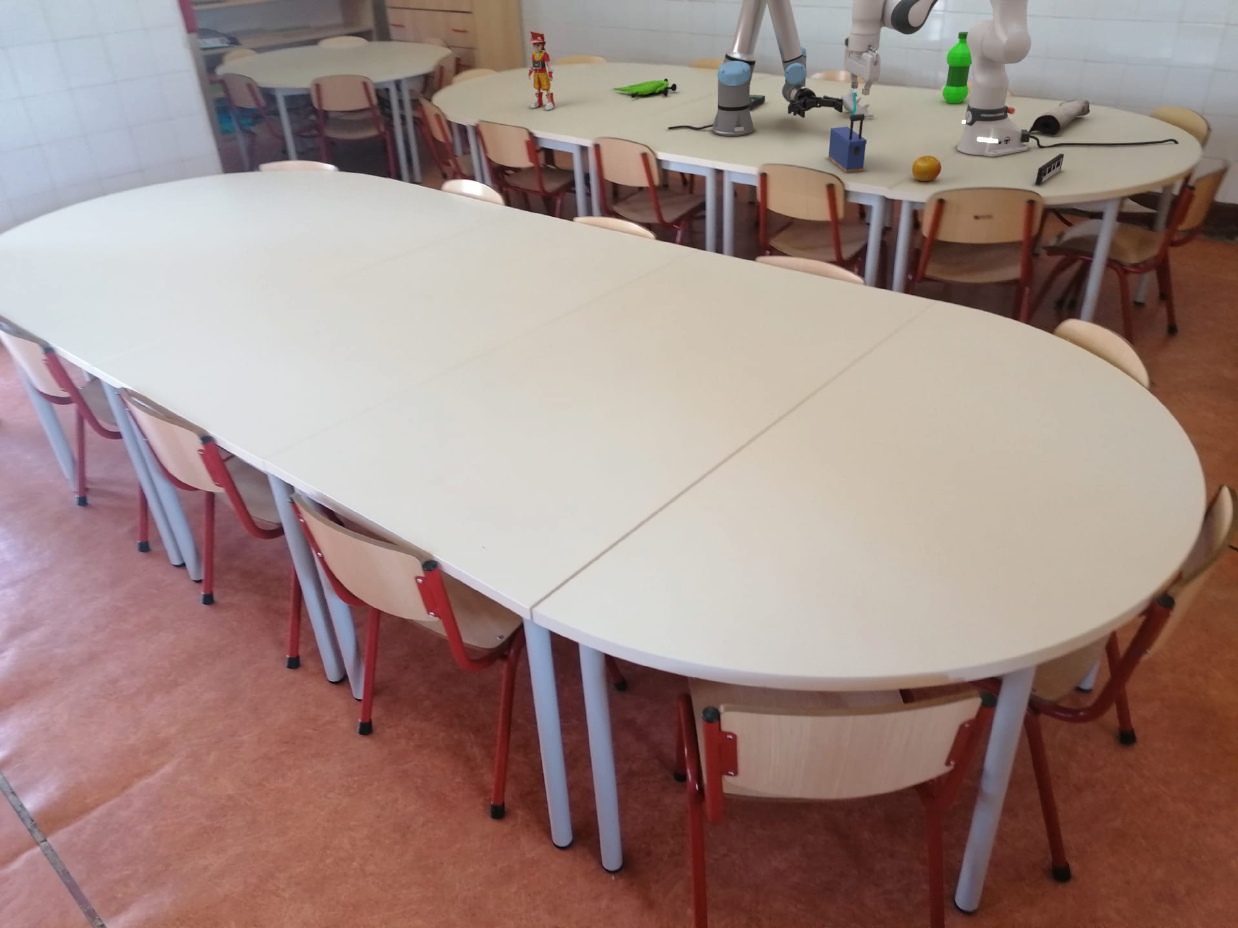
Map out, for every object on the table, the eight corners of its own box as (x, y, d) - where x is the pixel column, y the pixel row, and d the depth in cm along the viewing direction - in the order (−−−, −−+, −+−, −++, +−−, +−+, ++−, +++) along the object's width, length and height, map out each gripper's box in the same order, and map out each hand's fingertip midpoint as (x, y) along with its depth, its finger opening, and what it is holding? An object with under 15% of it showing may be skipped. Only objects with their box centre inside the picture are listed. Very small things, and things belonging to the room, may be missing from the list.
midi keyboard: (1039, 185, 269) (1043, 168, 266) (1035, 184, 270) (1038, 168, 267) (1060, 170, 279) (1064, 154, 277) (1056, 169, 280) (1060, 153, 277)
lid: (866, 144, 284) (869, 115, 279) (849, 145, 284) (852, 117, 279) (846, 130, 298) (849, 103, 294) (830, 131, 298) (832, 104, 293)
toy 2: (686, 85, 398) (631, 84, 414) (685, 72, 395) (629, 72, 411) (651, 104, 381) (596, 103, 397) (650, 92, 378) (594, 91, 394)
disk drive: (750, 111, 360) (765, 102, 370) (750, 104, 358) (765, 95, 368) (726, 109, 364) (742, 100, 375) (726, 102, 363) (742, 93, 373)
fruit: (905, 171, 275) (922, 148, 272) (907, 173, 283) (923, 151, 280) (928, 186, 274) (945, 163, 271) (929, 188, 282) (946, 166, 279)
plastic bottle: (973, 101, 354) (984, 32, 339) (955, 106, 349) (966, 36, 335) (952, 97, 361) (962, 29, 346) (934, 102, 356) (944, 33, 342)
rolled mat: (1057, 104, 331) (1081, 87, 323) (1070, 125, 332) (1095, 108, 324) (1024, 126, 314) (1049, 109, 306) (1039, 148, 314) (1064, 131, 306)
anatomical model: (836, 88, 347) (861, 81, 346) (838, 115, 353) (863, 108, 352) (847, 98, 335) (873, 90, 334) (849, 125, 341) (875, 118, 340)
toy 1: (525, 109, 381) (517, 32, 364) (534, 104, 388) (527, 28, 371) (550, 110, 377) (543, 32, 360) (559, 105, 384) (553, 28, 367)
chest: (863, 171, 290) (865, 143, 285) (846, 173, 289) (848, 145, 284) (844, 156, 303) (846, 130, 299) (828, 158, 303) (830, 131, 298)
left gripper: (835, 104, 333) (856, 118, 316) (770, 113, 331) (788, 127, 314) (836, 83, 329) (857, 95, 311) (770, 92, 327) (788, 104, 309)
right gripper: (888, 48, 261) (882, 98, 269) (861, 36, 278) (857, 84, 286) (867, 50, 261) (862, 100, 269) (842, 38, 278) (838, 85, 285)
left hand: (822, 111), depth 313 cm, fingers open, 13 cm apart
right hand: (859, 91), depth 278 cm, fingers open, 8 cm apart
